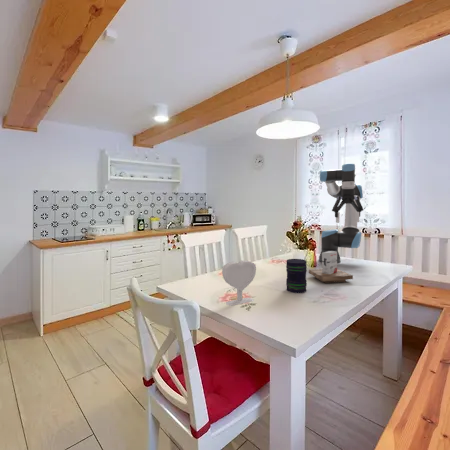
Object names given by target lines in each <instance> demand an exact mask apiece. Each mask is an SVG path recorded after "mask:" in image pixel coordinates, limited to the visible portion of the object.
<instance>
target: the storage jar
mask: <svg viewBox="0 0 450 450" xmlns="http://www.w3.org/2000/svg"><path fill="white" fill-rule="evenodd" d="M285 267H286V284H285V285H286V291H287V292H288V293H291V294H304V293H307V286H308V284H307V272H308V271H307V269H308V265H307V260H306V259H302V258H289V259H286V266H285Z"/></svg>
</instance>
